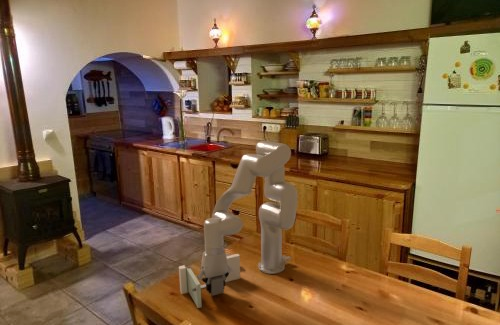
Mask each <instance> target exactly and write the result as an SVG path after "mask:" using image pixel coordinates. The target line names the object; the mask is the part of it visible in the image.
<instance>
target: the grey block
mask: <svg viewBox="0 0 500 325" xmlns="http://www.w3.org/2000/svg"><path fill="white" fill-rule="evenodd" d="M210 284H211V293H210V294H211V296H216V295H220V294H223V293H225V291H224V290H225V286H224V283H223V277H222V276H221V275H219V276H215V277H211V280H210Z"/></svg>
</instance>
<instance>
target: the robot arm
mask: <svg viewBox="0 0 500 325" xmlns="http://www.w3.org/2000/svg"><path fill="white" fill-rule="evenodd" d="M291 156H292V150H291V148H290V147H289V145H288V144H285V143H281V142H277V141H276V142H275V141H271V140H260V141H259V142H257V143H256V145H255V153H245V154H244V155H242V157H241V158H240V161H239V164H238V165H237V166H238V167H237V169H236V173H235V175H234V178H233V180H232V183H231V185H230V187H229V188H227V190H225V191H224V192H223V193H222V195H221V196H220V197H218V199H217V201H216V203H215V206H214V208H213V210H212V214H211V217H209V218H207V219H205V220H204V221H203V238H204V251H203V252H202V258H201V263H202V266H201V265H200V272H199V273H198V275H197V276H196V278H197V279H198V281H199V280H200V282H201V281H202V283H204V284H206V288H205V290H206V291H208V293H209V294H211V284H210V280H211V277H215V276H219V275H221V276H222V277H223V283H224V287H225V286H226V282H225V280H226V278H227V276H228V275H229V273H230V272H231V271H232V268H231V267H230V266H228V263H227V256H226V254H227V252H226V249H225V248H226V247H228V244H227V243H225V242H224V236H232V235H236V234H238V233H239V232H241V230H242V229H243V226H244V223H243V221H242V219H241V218H240V217H239V216H237V215H235V214H232V213H230V212H229V209H230V207H231V205H232V204H233V202H235V201H236V200H238V199H240V198H243V197H246V196H249V195H251V192H252V190H253V187H254V184H255V182H256V179H257V177H260V178H264V186H263V187H264V188H263V189H264V190H263V194H264V197H265V198H266V199H267V200H270V201H267V202H264V203H262V204H261V205H260V206H259V208H258V219H259V223H260V248H261V249H260V251H261V252H260V254H261V257H260V258H261V259H260V261H259V262H258V264H257V268H258V270H259V271H260V272H262V273H264V274H269V275H270V274H271V275H273V274H274V275H276V274H280V273H281V272H283V271H284V270H285V268H286V262H289V261H292V258H291V256H286V255H285V254H284V255H283V254H282V253H283V251H282V249H283V248H282V247H283V246H282V245H283V243H282V242H283V241H282V240H283V239H282V237H283V232H282V230H285V231H286V230H289V229H291V228H292V227H293V226H294V224H295V222H296V217H297V216H296V215H297V207H298V196H299V194H298V193H299V192H298V189H297V187H296V186H295V185H294V184H292V183H290V182H286V181H285V172H286V170H285V169H286V168H285V164H287V162H289V161H290V159H291ZM271 201H273V202H271ZM275 202H276V203H275ZM278 203H279V204H278Z"/></svg>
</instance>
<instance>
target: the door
mask: <svg viewBox="0 0 500 325" xmlns="http://www.w3.org/2000/svg"><path fill="white" fill-rule="evenodd" d="M185 267H186V277H187V290H188V291H189V292H188V294H189V295H190V296H191V298H192V300H193V302H194V304H195V305H196V307H197V309H200V308H202V307H203V306H202V292H201V291H202V289H201V286H200V285H201V283H200V281H199V279H198V277H197V276H196V275H195V273H194V272H193V270H192V269H191V266H185Z"/></svg>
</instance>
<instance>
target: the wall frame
mask: <svg viewBox="0 0 500 325" xmlns="http://www.w3.org/2000/svg"><path fill="white" fill-rule="evenodd" d="M240 256H241V255H240V254H239V253H235V254H232V255H230V256H227V263H228V266H230V267H231V268H232V271H231V272H230V273H229V275H228V276H227V278H226V280H225V283H228V282H231V281H235V280H239V279H241V260H240V259H241V257H240ZM186 267H187V266H186V265H185V264H183V265H180V266H178V277H179V292H180V294H181V295H184V294H189V291H188V290H187V277H186ZM200 286H201V290H202V289H206V283H204V284H200Z"/></svg>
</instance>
